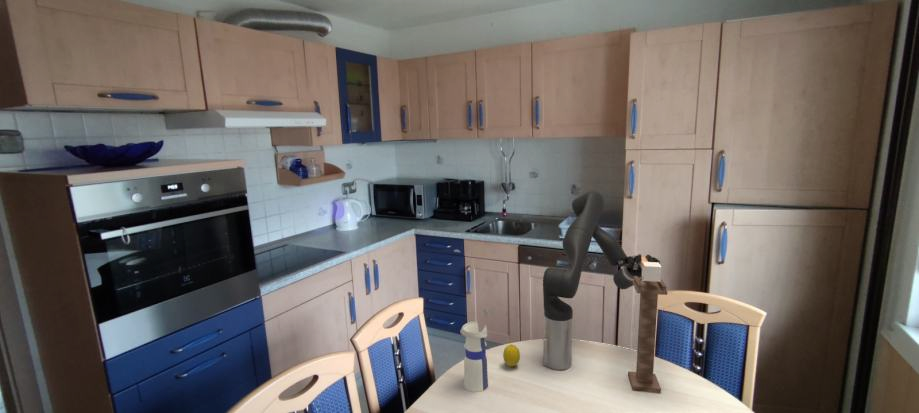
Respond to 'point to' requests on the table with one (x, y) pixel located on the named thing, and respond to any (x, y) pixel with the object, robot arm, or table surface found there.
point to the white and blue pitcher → (475, 357)
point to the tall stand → (646, 336)
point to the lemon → (511, 355)
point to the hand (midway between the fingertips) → (644, 257)
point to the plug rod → (650, 270)
